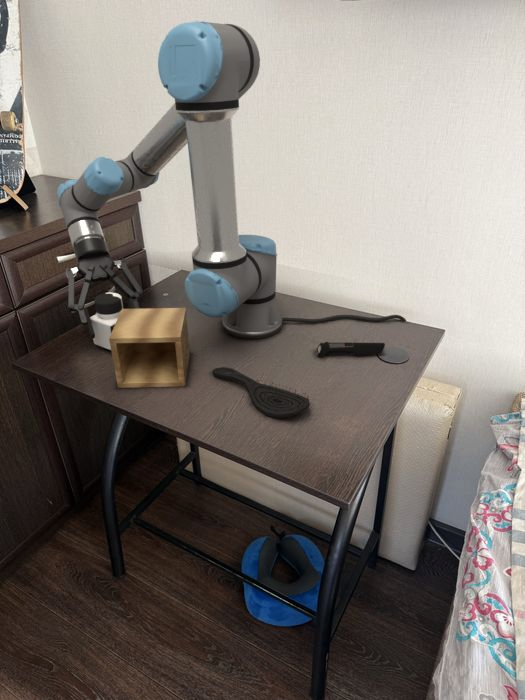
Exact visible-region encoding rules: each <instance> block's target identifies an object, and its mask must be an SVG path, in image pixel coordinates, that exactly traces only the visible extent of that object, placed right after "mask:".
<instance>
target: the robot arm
mask: <svg viewBox="0 0 525 700" xmlns="http://www.w3.org/2000/svg"><path fill="white" fill-rule="evenodd" d="M260 67H261V57H260V51H259V48H258V45H257V43H256V40H255V39H254V38H253V36H252V35H251V34H250V33H249V32H248V31H247V30H246V29H244V28H243V27H241V26H239V25H238V24H237V25H236V24H233V23H217V22H209V21H198V20H196V21H190V22H183V23H180V24H177V25H176V26H174V27H173V28H171V29H170V31H168V32H167V34H166V36H165V38H164V39H163V41H162V42H161V45H160V47H159V52H158V57H157V70H158V76H159V79H160V81H161V84H162V86H163V88H164V89H166V90H167V94H168V95H169V96H170V97H172V98H173V99H174V103H173V104H172V105H171V106H170V107H169V109H168V110H167V111H166V112H165V114H164V115H162V117H161V118H160V119H159V120H158V121H157V123H156V124H155V125H154V126H153V127H152V128H151V129H150V130H149V132H147V134H146V135H144V137H143V138H142V139H141V141H139V143H138V144H137V145H136V146H135V147H134V149H133V150H132V151H131V152H130V153H129V154H128V155H127V156H126V157H125V158H123V159H119V160H116V161H114V159H112V158H107V157H105V156H99V157H96V158H95V159H94V160H92V162H90V163H89V164H88V165H87V166H86V168H85V169H84V171H83V172H82V173H81V176H80V177H79V178H78V179H69V180H66V181H65V182H63V183H60V185H59V186H58V188H57V191H56V192H57V197H58V204H59V208H60V210H61V213H62V216H63V219H64V222H65V226H66V229H67V231H68V234H69V238H70V242H71V245H72V247H73V253H74V256H75V259H76V263H77V266H76V267H66V268H65V276H66V279H67V281H68V285H67V286H68V290H67V291H68V295H67V296H68V298H67V300H68V301H67V302H68V303H67V306H68V307H67V308H68V311H69V312H70V313H73V312H76V313H77V314H78V317H79V319H80V323H81V325H82V326H87V329H88V333H89V335H90V339H91V340H93V338H95V333H94V329H93V326H92V323H91V319H90V317H91V316H90V313H89V310H88V307H85V305H86V303H87V298H88V295H89V291H90V287H91V284H92V283H98V282H101V281H102V282H104V281H108V282H110V283H111V284H113V286H114V287H115V288H116V289H118V290H119V292H121V294H122V295H124V296H125V298H127V299H128V301H127V306H128V309H141V307H140V305H139V301H138V300H139V299H140V298H142V296H143V294H144V292H143V289H142V287H141V286H140V285H139V283H138V281H137V280H136V278H135V277H134V275H133V273H132V272H131V271H130V269H129V267H128V264H127V260H126V258H125V257H122V258H120V259H119V260H114V259H112V257H111V255H110V252H109V248H108V244H107V242H106V240H105V236H104V232H103V229H102V227H101V223H100V220H99V217H98V212H99V211H100V210H101V209H102V208H103V207H104V205H105V204H106V203H107V202H108V201H109V200H112V199H114V198H117V197H120V196H124V195H126V194H129V193H132V192H135V191H139V190H142V189H146V188H149V187H150V186H152V185H154V184H156V183H157V182H158V180H159V177H160V172H161V171H162V170H163V169H164V168H165V167H166V166H167V165H168V164H169V163H170V162H171V161H172V160H173V159H174V158H175V157H176V156H177V155H178V154H179V153H180V152H181V151H182V150H183V149H184V148H185V147H186V146H187V150H188V160H189V170H190V181H191V188H192V189H191V191H192V199H193V208H194V219H195V227H196V228H195V229H196V238H197V239H196V240H197V246H196V247H195V248H194V249H193V250H192V252H191V260H192V261H191V262H192V270H191V271H190V272H189V273H188V275H187V277H185V281H184V292H185V295H186V297H187V299H188V301H189V302H190V304H191V305H192V307H194V308H195V309H196V310H197V311H198V312H199V313H201V314H203V316H207V317H210V318H216V319H217V318H222V328H223V330H224V331H225V332H226V333H227V334H229V335H230V336H233V337H236V338H239V339H245V340H259V339H266V338H269V337H273V336H274V335H276V334H277V333H279V332H280V331H281V330H282V327H283V322H285V323H286V322H289V323H306V324H314V323H315V324H319V323H325V322H330V321H334V320H339V319H349V320H350V319H351V320H357V321H358V320H360V321H363V322H364V321H365V322H375V323H376V322H379V323H381V322H385V321H389V320H395V319H398V320H400V321H401V322H403V323H405V322H407V319H406V318H405V317H403V316H402V315H399V314H391V315H386V316H383V317H370V316H361V315H355V314H336V315H331V316H327V317H321V318H304V317H303V318H301V317H283V316H282V313H281V309H280V306H279V304H278V301H277V298H276V293H277V292H276V291H277V257H278V254H277V243H276V241H274V240H273V239H271V238H270V237H268V236H267V237H266V236H263V235H257V234H239V221H238V220H239V219H238V206H237V205H238V204H237V203H238V202H237V189H236V170H235V155H234V139H233V138H234V137H233V120H232V119H233V118H234V116H235V115H236V114H237V112H238V111H239V110H240V101H239V100H240V99H241V98H242V97H243V96H244V95H245V94H246V93H247V92H248V91H249V90H250V89H251V88H252V86H253V85H254V84H255V82H256V80H257V78H258V76H259V72H260ZM115 267H116V268H117V270H119V271H120V272H121V274H122V275H123V278H124V279H125V280H126V282H127V284H128V285H127V284H126V283H125V282H123V280H122V279H120V277H118V275H117V274H116V272H115V271H113V270H114V268H115ZM78 273H79V275H81V276H82V277H83V278H84V281H83V285H82V288H81V292H80V297H79V299H78V303H75V279H76V278H77V276H78ZM129 286H130V287H129Z"/></svg>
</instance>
